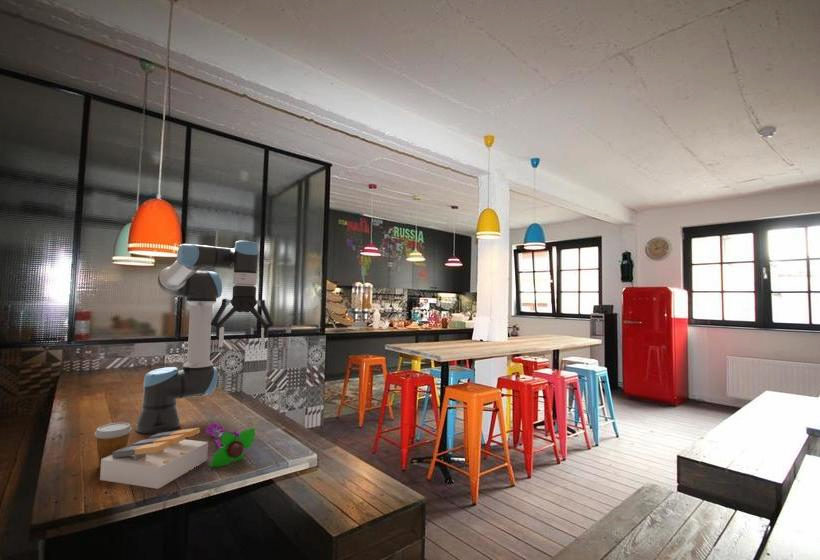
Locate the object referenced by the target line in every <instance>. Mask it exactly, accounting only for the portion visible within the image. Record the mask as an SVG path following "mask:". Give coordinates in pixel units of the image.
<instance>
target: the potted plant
mask: <svg viewBox="0 0 820 560" xmlns="http://www.w3.org/2000/svg"><path fill="white" fill-rule="evenodd" d="M205 434H207V435H211V436H212V438H213V440H214V442H215V444H216V449H217V451H216V452H215V453H214V455H213V457H212V460H211V462H210V468H213V467H214V466H215V467H221V466H222V467H223V466H227V465H229V464H230V463H231V462H232V461H235V462H237V461H241V460H244V453H245V449H249V448H251V446H252V445H253V444H254V443H253V442H254V439H255V436H256V435H255V434H256V430H255V428H254V427H253V428H250V429H245V430H243V431H241V432H240V433H239V431H237V430H234V431H233V432H232V431H227V430H226V429H225V430H224V427H223V426H222V425H218V424H217V423H215V422H211V423H210V424H209V426H208V427H206V430H205ZM215 467H214V468H215Z"/></svg>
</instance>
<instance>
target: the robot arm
mask: <svg viewBox="0 0 820 560" xmlns="http://www.w3.org/2000/svg"><path fill="white" fill-rule="evenodd" d="M258 258H259V245H258V243H257V242H255V241H250V240H236V241H235V243H234V247H233V248H231V247H223V246H211V245H201V244H195V243H182V244H180V245H179V247H178V249H177V254H176V260H175V261H174V262H173V263H172V264H171V265H170V266H167V267H164V269H162V270H161V271H160V272H159V274H158V276H157V283H158V286H159V288H160V289H161V290H162V291H163V292H164V293H166V294H168V295H170V296H173V297H179V298H186V300H185V301H186V303H187V304H188V305H189V320H188V322H189V323H188V340H187V358H186V360H187V361H186V362H184V364H182V369H178V367H176V366H169V367H167V366H166V367H161V368H156V369H152V370H150V371H149V372H146V374H145V375H144V378H143V384H142V386H143V393H142V406H141V407H142V409H141V412H140V414H139V418H138V421H137V422H136V424H135V431H136V432H137V433H142V434H158V433H163V432H170V431H173V430H174V429H176V428H178V427H180V423H181V418H180V416H179V412H178V409H177V400H179V399H184V398H185V399H186V398H193V397H203V396H206V395H210V394H212V393H213V392H214V391H215V389H216V387H217V384H218V379H219V374H218V369H217V367H215V366H214V363H213V362H212V361H211V360H210V358H211V356H210V355H211V354H210V353H211V335H212V326H213V327H214V328H216V329H215V330H216V331H215V336H216V337H217V338H218V348H222V347H224V336H225V335H224V334H225V327H223V325H224V324H225V323H226V322H227V321H228V320H229V319H230V318H231V317H232V316H233V315H234V314H235V313H236V312H238V313H242V312H243V313H249V312H250V313H251V314H252V315H253V316H254V317H255V318H256V320H258V322H259V323H260V324H261V325H262V328H261V332H260V334H261V335H260V336H261V337H260V348H264V347H265V338H268V336H269V329H270V328H271V327H274V326H275V323H274V321H273V319H272V317H271V315H270V313H269V311H268V308H267V307H266V306H267V305H266V300H265V299H261V300H257V299H256V298H257V287H256V285H257V284H258V283H257V278H258ZM202 268H209V269H211V268H212V269H227V270H233V280H232V281H233V282H232V283H233V286H232V296H231V297H232V298H231V299H228V298H222V300H221V305H220V306H219V308H218V310H217V312H216V314H215V316H214V317H213V316H212V315H213V305H215V304H216V303H217V299H219V298H221V296H222V292H223V284H222V279H221V277H220V275H219V274H218V273H217V272H216V271H212V270H211V271H210V270H200V269H202ZM230 304H231V306H232V308H231V309H230V310H229V311H228V312H227V313H226V314H225V315H224V317H222V319H220V318H221V316H222V314H223V313H224V311H225V310H226V309H227V306H230ZM257 304H258V306H259V307H260V309H261V311H262V313H263V315H264V317H265V319H266V321H267V322H266V321H265V320H264V318H263V316H261V315H260V313H259V312H258V310H257V309H256V308H255V307H256V305H257ZM212 317H213V318H212Z"/></svg>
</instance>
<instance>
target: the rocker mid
mask: <svg viewBox="0 0 820 560" xmlns="http://www.w3.org/2000/svg"><path fill="white" fill-rule="evenodd" d="M185 439H186V437H185V434H182V435H174V436H167V437H160V438H152V439H149V438H148V439H147V438H146V439H141V440H139V441H136V442H134V443H132V444H130V445H131V446H138V445H145V444H153V443H160V442H168V441H169V445H170V444H176V443H178V442H181V441H183V440H185ZM131 446H130V447H131Z"/></svg>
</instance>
